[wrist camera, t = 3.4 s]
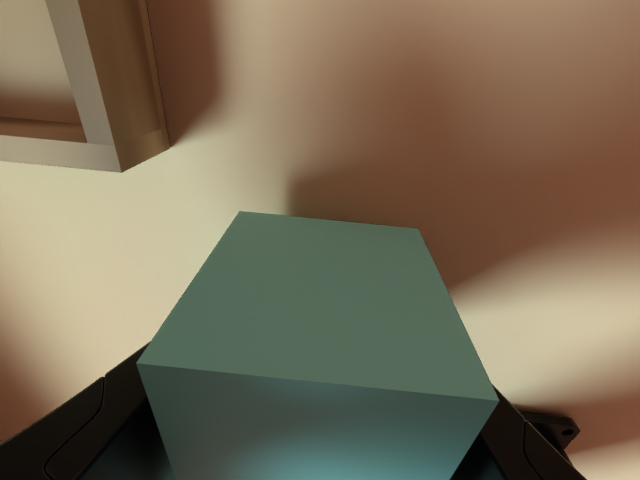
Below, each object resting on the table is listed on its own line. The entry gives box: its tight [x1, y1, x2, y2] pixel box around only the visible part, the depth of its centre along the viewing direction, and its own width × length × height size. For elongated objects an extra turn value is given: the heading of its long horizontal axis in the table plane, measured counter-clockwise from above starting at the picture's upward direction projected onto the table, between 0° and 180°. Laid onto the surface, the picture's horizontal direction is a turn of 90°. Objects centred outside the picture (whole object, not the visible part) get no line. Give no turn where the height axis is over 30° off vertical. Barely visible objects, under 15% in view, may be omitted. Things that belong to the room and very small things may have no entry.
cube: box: [136, 211, 499, 480], centre depth 8 cm, size 5×5×5 cm
